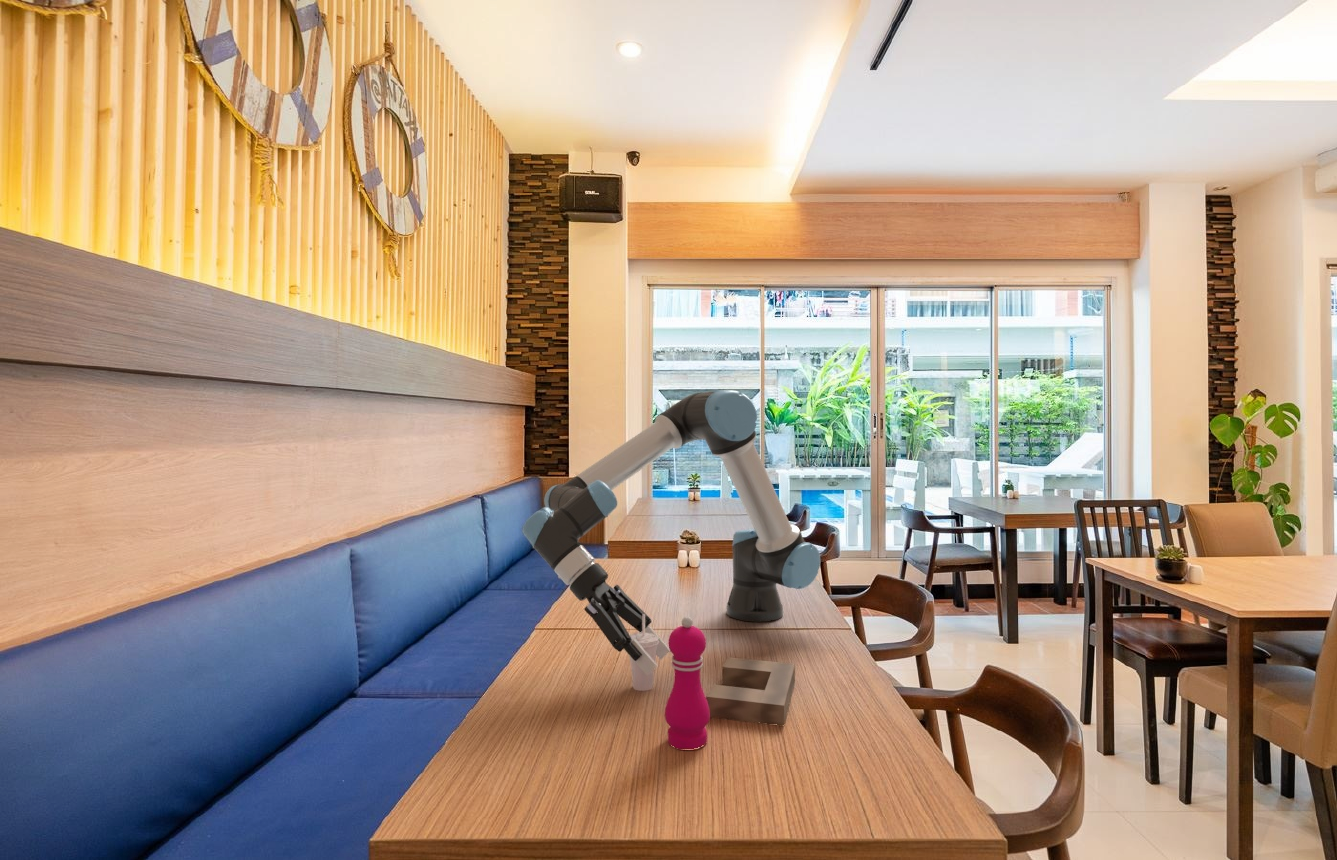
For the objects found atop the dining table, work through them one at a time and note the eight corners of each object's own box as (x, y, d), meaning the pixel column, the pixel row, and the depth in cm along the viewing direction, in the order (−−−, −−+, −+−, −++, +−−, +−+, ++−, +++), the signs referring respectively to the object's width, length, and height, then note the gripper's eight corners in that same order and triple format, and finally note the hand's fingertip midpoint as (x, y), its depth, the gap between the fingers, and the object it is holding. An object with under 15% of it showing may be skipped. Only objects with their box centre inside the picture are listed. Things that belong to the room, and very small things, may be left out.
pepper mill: (695, 757, 97) (695, 626, 97) (656, 745, 101) (655, 619, 101) (717, 738, 104) (717, 614, 104) (679, 727, 107) (679, 608, 107)
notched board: (706, 716, 111) (705, 696, 111) (727, 674, 130) (727, 657, 131) (784, 726, 108) (784, 705, 108) (794, 681, 127) (794, 663, 127)
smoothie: (663, 683, 126) (663, 612, 126) (652, 695, 120) (652, 621, 120) (633, 679, 128) (633, 609, 128) (621, 691, 122) (620, 618, 122)
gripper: (590, 575, 139) (661, 656, 134) (546, 599, 119) (628, 696, 114) (613, 552, 137) (686, 633, 133) (572, 572, 117) (656, 669, 113)
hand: (659, 662), depth 123 cm, fingers open, 8 cm apart
